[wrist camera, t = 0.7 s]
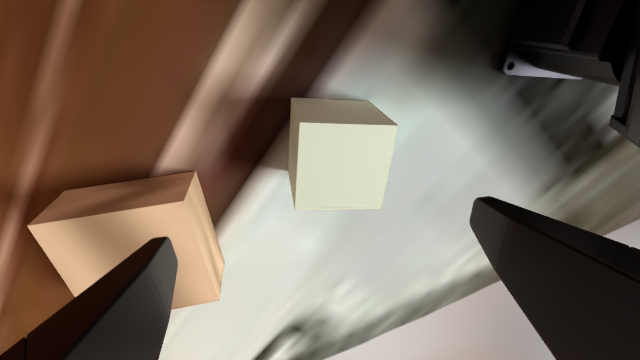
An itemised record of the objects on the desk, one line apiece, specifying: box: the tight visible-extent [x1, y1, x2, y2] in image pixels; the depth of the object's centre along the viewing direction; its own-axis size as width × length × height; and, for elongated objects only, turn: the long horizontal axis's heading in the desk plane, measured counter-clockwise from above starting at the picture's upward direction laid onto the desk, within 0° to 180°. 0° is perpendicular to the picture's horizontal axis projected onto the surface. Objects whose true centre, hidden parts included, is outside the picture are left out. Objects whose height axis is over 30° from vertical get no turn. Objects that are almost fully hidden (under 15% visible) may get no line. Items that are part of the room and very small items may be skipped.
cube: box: [288, 98, 398, 210], centre depth 19 cm, size 5×5×5 cm
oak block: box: [27, 171, 225, 310], centre depth 21 cm, size 8×8×4 cm
